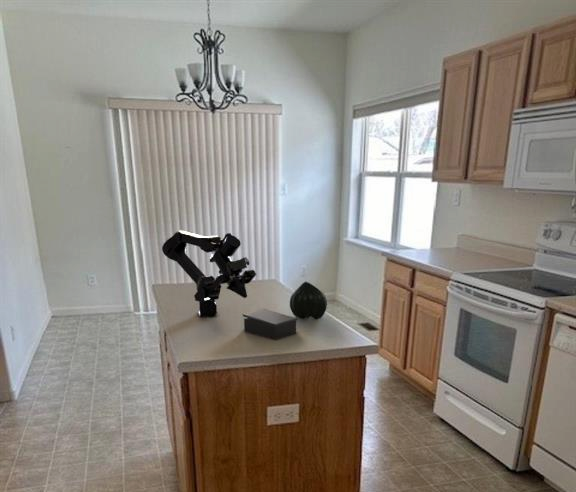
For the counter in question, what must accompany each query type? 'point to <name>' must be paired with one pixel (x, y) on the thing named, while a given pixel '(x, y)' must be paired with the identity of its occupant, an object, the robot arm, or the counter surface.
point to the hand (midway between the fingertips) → (245, 297)
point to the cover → (269, 317)
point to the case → (269, 328)
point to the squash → (308, 302)
